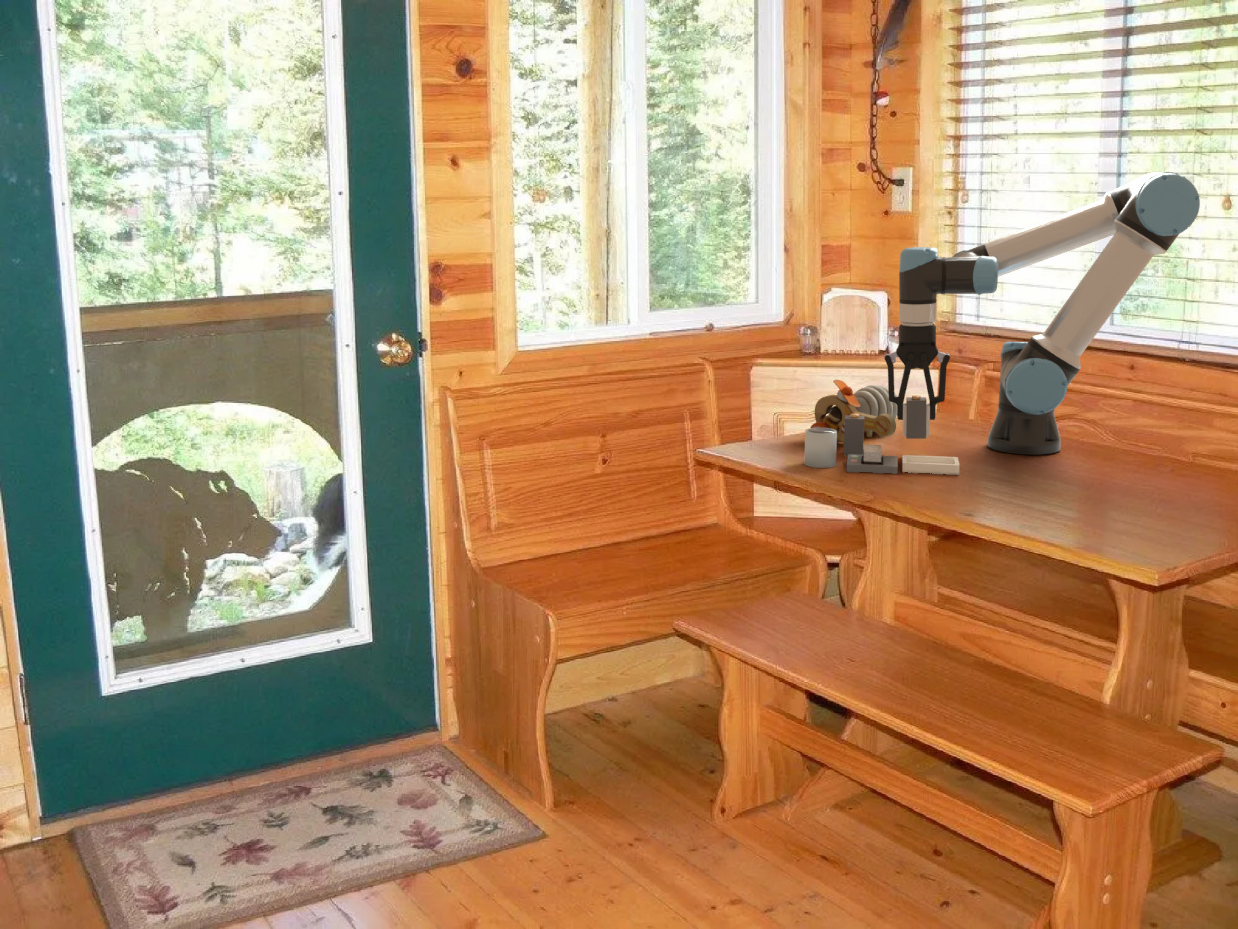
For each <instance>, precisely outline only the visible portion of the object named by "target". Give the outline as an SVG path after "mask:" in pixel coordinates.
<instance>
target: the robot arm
mask: <svg viewBox="0 0 1238 929" xmlns="http://www.w3.org/2000/svg"><path fill="white" fill-rule="evenodd" d="M1200 200H1201V199H1200V194H1199V192H1198V189H1197V188H1196V186H1195V185H1194V183H1193V182H1192V181H1190V180H1189V178H1187V177H1185V176H1184V175H1181V174H1179V173H1178V172H1171V171H1154V172H1150V173H1147V174H1144V175H1142V176H1139V178H1136V179H1134V180H1132V181H1131V182H1129V183H1127V184H1125V185H1123V186H1120V187H1117V188H1116V189H1113V190H1110V191H1107V192H1106V193H1105V194H1104V196H1103V198H1102V199H1100V200H1098V201H1095V202H1093V203H1090V204H1088V205H1087V204H1086V205H1085V206H1082V207H1079V208H1076V209H1073V210H1071V211H1068V212H1067V213H1064V214H1061V215H1057V216H1054V217H1053V218H1050V219H1047V220H1045V221H1042V222H1040V223H1036V224H1035V225H1034V224H1033V225H1031V226H1029V227H1027V228H1023V229H1021V230H1018V231H1016V232H1013V233H1011V234H1008V235H1005V236H1002V237H1000V238H997V239H994V240H991V241H989V242H987V243H986V242H985V243H984V244H982V245H978V246H975V247H974V248H969V249H965V250H960V251H958V252H956V253H955V254H954V255H953V256H948V257H946V256H939V254H938V249H937V248H936V247H931V246H930V247H929V246H926V247H925V246H923V247H922V246H917V247H915V246H913V247H906V248H903V249H902V251H901V252H900V254H899V255H900V256H899V258H900V259H899V271H898V273H899V274H898V276H899V278H898V279H899V281H898V284H899V287H898V289H899V290H898V292H899V296H898V298H899V300H898V322H899V323H901V324H899V326H898V346H897V347H896V350H895V351H893V352H891V353H885V355H884V361H885V363H886V365H887V382H888V383H887V384H888V386H887V388H888V391H889V401H890V402H894V403H896V404H897V416H896V419H897V420H898V421H902V437H906V421H907V404H906V402H905V396H906V392H907V389H908V383H909V381H910V380H909V378H910V374H911V370H914V369H920V370H923V376H924V379H925V385H926V389H927V390H926V391H927V395H928V401H929V402H928V403H927V402H926V437H930V436H931V434H930V432H931V430H930V425H931V424H930V423H931V421H935V420H936V408H937V406H936V405H937V404H939V403H944V401H945V398H946V383H947V381H946V380H947V367H948V364H949V362H950V360H951V356H950V354H949V353H948V352H947V353H946V352H942V351H939V348H938V347H937V325H936V324H934V323H936V322H937V308H938V306H937V304H938V303H937V300H938V299H937V297H938V295H984V294H987V295H988V294H994V293H995V292H996V291H997V288H998V280H999V277H1002V276H1004V275H1007V274H1010V273H1012V272H1015V271H1019V270H1021V269H1023V268H1026V267H1029V266H1031V265H1034V264H1037V263H1040V262H1042V261H1045V260H1047V259H1050V258H1053V257H1056V256H1058V255H1059V256H1060V255H1061V254H1062V255H1063V254H1065V253H1067V252H1070V251H1073V250H1075V249H1078V248H1081V247H1084V246H1086V245H1090V244H1093V243H1095V242H1097V241H1100V240H1103V239H1106V238H1108V237H1111V236H1112V237H1111V239H1109V241H1108V243H1107V244H1106V246H1105V247H1104V248H1103V250H1102V251H1101V252H1100V253H1099V255H1098V256H1097V258H1096V259H1095V261H1094V262H1093V264H1092V265H1091V266H1090V268H1089V269H1088V270H1087V271H1086V273H1085V275H1084V276H1083V278H1082V279H1081V280H1080V282H1079V283H1078V285H1077V286H1076V287H1075V289H1074V290H1073V291H1072V293H1071V294H1070V296H1069V297H1068V299H1067V300H1066V301H1065V302H1064V304H1063V305H1062V307H1061V308H1060V309H1059V311H1058V313H1057V314H1056V315H1055V316H1054V318H1053V319H1052V321H1051V322H1050V323H1049V325H1048V326H1047V327H1046V329H1045V331H1043V333H1041V334H1036V335H1031V337H1030V339H1029V340H1028V341H1006V342H1004V343H1002V347H1001V352H1000V372H999V373H1000V375H999V388H998V389H999V390H998V391H999V392H998V405H997V407H998V408H997V412H996V415H995V418H994V420H993V423H992V426H991V428H990V431H989V433H988V436H987V447H988V448H990V449H991V450H994V451H997V452H1002V453H1008V454H1013V455H1014V454H1015V455H1016V454H1017V455H1033V456H1035V455H1049V454H1053V453H1054V454H1056V453H1058V452H1060V451H1061V445H1062V440H1061V439H1062V438H1061V434H1060V431H1059V428H1058V423H1057V420H1056V416H1055V409H1056V408H1058V406H1060V405H1061V403H1062V402H1063V400H1064V399H1065V397H1066V395H1067V391H1068V388H1069V385H1070V384H1071V383H1072V381H1073V380H1074V379H1075V377H1076V376H1077V374H1078V373H1079V371H1080V370H1081V369H1082V365H1081V356H1082V355H1083V353H1084V352H1085V350H1086V349H1087V348H1088V347H1089V345H1090V344H1091V342H1092V341H1093V339H1094V338H1095V337H1096V335H1097V334H1098V332H1099V331H1100V330H1101V328H1102V327H1103V325H1104V324H1105V323H1106V321H1107V320H1108V319H1109V317H1110V316H1111V314H1112V313H1113V312H1114V311H1115V309H1116V308H1117V307H1118V305H1119V304H1120V303H1121V301H1122V300H1123V298H1124V297H1125V296H1126V294H1127V293H1128V292H1129V291H1130V289H1131V288H1132V286H1133V284H1134V283H1135V282H1136V280H1137V279H1138V277H1139V276H1140V275H1141V273H1142V272H1143V271H1144V269H1145V268H1146V267H1147V265H1148V264H1149V263H1150V261H1151V260H1152V259H1153V257H1155V256H1157V255H1161V254H1166V253H1167V252H1168V250H1169V249H1170V247H1171V246H1172V244H1174V242H1175V240H1176V239H1177V238H1178V236H1179V235H1180V234H1182V233H1184V232H1185V231H1186V230H1187V229H1188V228H1190V227H1191V226H1192V224H1194V222H1195V220H1196V219H1197V217H1198V214H1199V212H1200V208H1201V204H1200V203H1201V201H1200ZM897 357H898V358H899V360H900V361H901V363H902V364H903V365H904V368H903V373H902V378H901V382H900V387H899V392H898V395H897V396H895V395H894V392H895V369H894V368H895V367H894V364H895V363H896V362H897ZM936 357H937V360H938V361H937V362H938V363H940V365H939V375H938V376H939V378H938V379H939V380H938V394H937V396H935V391H934V386H933V382H932V376H931V371H930V365H931V364H932V362H933V361H934V359H935V358H936Z"/></svg>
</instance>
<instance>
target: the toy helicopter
mask: <svg viewBox="0 0 1238 929" xmlns="http://www.w3.org/2000/svg"><path fill="white" fill-rule="evenodd" d="M833 383H834V384H835V386H836V387H837V388H838V391H837V393H836V394H828V395H827V396H823V397H821V398H819V399H818V401H817V402H816V403H815V406H814V418H815V422H814V423H813V424H811V425H810V428H830V429H834V430H836V431H837V442H841V443H842V444H844V428H845V415H850V414H859V416H864V430H872V431H875V432H874V433H876V434H877V435H878V436H879V437H882V438H885V437H889V436H892V435H894V434H895V432H896V429H897V422H896V419H895V420H894V418H893V417H892V416H891V415H889V414H882V415H879V416H873V415H869V414H864V413H860V412H858V411H857V410H856V408H855V407H860V404H859V402H858V401H857V399H856V398H855V396H854V395H853V394H854V392H853V388H852V387H851V386H848V384H846V382H844V381H843V380H841V379H834V380H833Z"/></svg>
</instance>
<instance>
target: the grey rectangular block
mask: <svg viewBox="0 0 1238 929" xmlns="http://www.w3.org/2000/svg"><path fill="white" fill-rule="evenodd" d="M863 455H864V461H870V462H881V455H882V444H863Z"/></svg>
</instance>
